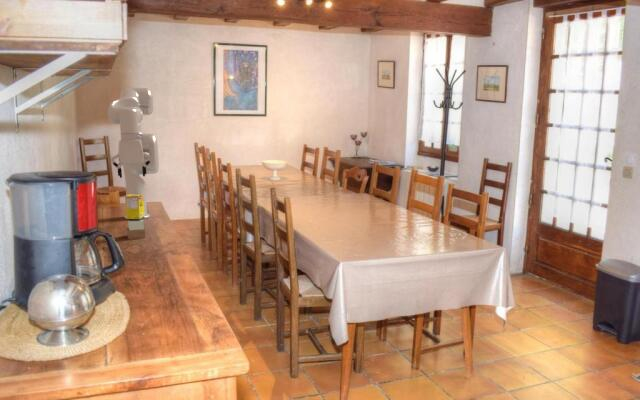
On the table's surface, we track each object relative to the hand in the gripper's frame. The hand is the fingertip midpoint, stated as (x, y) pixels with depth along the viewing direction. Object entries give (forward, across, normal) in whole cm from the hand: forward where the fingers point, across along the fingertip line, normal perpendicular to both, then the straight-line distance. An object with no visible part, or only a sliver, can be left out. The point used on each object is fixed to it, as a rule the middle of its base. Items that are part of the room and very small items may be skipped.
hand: (132, 176), depth 252 cm
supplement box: (+19, 0, +1) cm, 19 cm away
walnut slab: (+27, 0, +1) cm, 27 cm away
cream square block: (+23, 0, +2) cm, 23 cm away
